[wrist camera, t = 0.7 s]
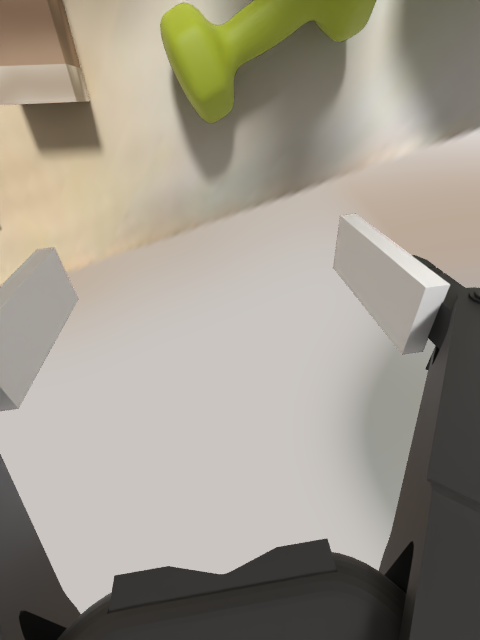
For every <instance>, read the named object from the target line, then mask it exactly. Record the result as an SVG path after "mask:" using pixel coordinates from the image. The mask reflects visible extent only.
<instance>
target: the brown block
mask: <svg viewBox="0 0 480 640" xmlns="http://www.w3.org/2000/svg"><path fill="white" fill-rule="evenodd" d="M86 101H90V100H89V96H88V92H87V88H86V85H85V81H84V77H83V73H82V70H81V68H80V64H79V61H78V57H77V53H76V50H75V46H74V42H73V38H72V35H71V31H70V27H69V23H68V20H67V16H66V12H65V9H64V5H63V1H62V0H0V105H17V104H40V103H63V102H86Z"/></svg>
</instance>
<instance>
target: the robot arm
mask: <svg viewBox="0 0 480 640" xmlns="http://www.w3.org/2000/svg"><path fill="white" fill-rule="evenodd" d="M333 268H334V269H335V271H336V272H337V273H338V275H339V276H340V277H341V278H342V280H343V281H344V282H345V283H346V284H347V285H348V287H349V288H350V289H351V291H352V292H353V293H354V295H355V296H356V297H357V298H358V300H359V301H360V302H361V303H362V305H363V306H364V307H365V308H366V310H367V311H368V312H369V313H370V315H371V316H372V317H373V319H374V320H375V321H376V322H377V323H378V325H379V326H380V327H381V328H382V330H383V331H384V332H385V334H386V335H387V336H388V337H389V339H390V340H391V341H392V342H393V344H394V345H395V346H396V347H397V349H398V350H399V351H400V353H401V354H402V355H403V354H409V353H416V352H423V350H424V348H425V345H426V343H427V340H428V338H429V339H430V340H431V341H432V342H433V343H434V344H435V345H436V346H435V349H434V351H433V353H432V355H431V358H430V360H429V362H428V364H427V367H426V369H427V370H428V375H427V378H426V383H425V387H424V392H423V396H422V400H421V405H420V409H419V414H418V418H417V423H416V427H415V431H414V436H413V440H412V444H411V448H410V453H409V457H408V462H407V466H406V470H405V475H404V479H403V483H402V488H401V492H400V497H399V501H398V506H397V510H396V514H395V518H394V523H393V527H392V532H391V535H390V538H389V541H388V544H387V546H386V549H385V552H384V555H383V558H382V561H381V565H380V568H379V571H377V570H376V569H374V568H372V567H371V566H369V565H367V564H366V563H364V562H361V561H359V560H357V559H355V558H352V557H349V556H346V555H343V554H340V553H334V552H331V549H330V546H329V543H328V540H327V539H322V540H316V541H310V542H305V543H299V544H294V545H287V546H282V547H276V548H275V549H273V550H271V551H269V552H267V553H265V554H263V555H262V556H260V557H258V558H256V559H254V560H252V561H250V562H248V563H246V564H245V565H243V566H241V567H239V568H237V569H235V570H233V571H231V572H229V573H227V574H213V573H207V572H200V571H195V570H188V569H182V568H176V567H170V566H167V567H161V568H156V569H150V570H144V571H139V572H133V573H127V574H121V575H116V576H114V582H113V588H112V593H110V594H108V595H107V596H105V597H104V598H102V599H101V600H99V601H98V602H96V603H95V604H93V605H92V606H91V607H89V608H88V609H87V610H86V611H85V612H84V613H82V614H80V613H79V611H78V610H77V608H76V607H75V606H74V604H73V603H72V602H71V601H70V600H69V598H68V597H67V596H66V594H65V593H64V591H63V590H62V587H61V585H60V583H59V581H58V579H57V577H56V574H55V572H54V570H53V568H52V566H51V564H50V561H49V559H48V557H47V555H46V553H45V551H44V548H43V546H42V544H41V542H40V540H39V537H38V535H37V533H36V531H35V529H34V526H33V524H32V523H31V520H30V518H29V516H28V514H27V511H26V509H25V507H24V505H23V503H22V500H21V498H20V496H19V494H18V492H17V490H16V487H15V485H14V483H13V481H12V479H11V476H10V474H9V472H8V470H7V468H6V465H5V463H4V461H3V459H2V457H1V455H0V640H480V288H465V287H463V286H462V285H461V284H459V283H458V282H456V281H455V280H454V279H452V278H451V277H450V276H448V275H447V274H445V273H443V272H442V271H441V270H440V269H438V268H436V267H435V266H434V265H433V264H431V263H430V262H429V261H427V260H425V259H423V258H420V257H418V256H415V255H410V254H409V253H408V252H406V251H405V250H403V249H402V248H401V247H400V246H398V245H397V244H396V243H394V242H393V241H392V240H390V239H389V238H388V237H386V236H385V235H384V234H382V233H381V232H379V231H378V230H377V229H376V228H374V227H373V226H372V225H370V224H369V223H368V222H366V221H365V220H364V219H362V218H361V217H360V216H358V215H357V214H348V215H340V220H339V228H338V235H337V243H336V250H335V259H334V266H333ZM77 301H78V297H77V294H76V293H75V290H74V288H73V286H72V284H71V282H70V280H69V277H68V275H67V273H66V271H65V269H64V267H63V265H62V262H61V260H60V258H59V256H58V254H57V252H56V250H55V248H54V247H53V248H44V249H37V250H36V251H35V252H34V253H33V254H32V255H31V256H30V257H29V258H28V259H27V260H26V261H25V262H24V263H23V264H22V265H21V266H20V267H19V268H18V269H17V270H16V271H15V272H14V273H13V274H12V275H11V276H10V277H9V278H8V279H7V280H6V281H5V282H4V283H3V284H2V285H1V286H0V411H5V410H12V409H18V408H19V407H20V405H21V403H22V401H23V399H24V397H25V396H26V394H27V392H28V390H29V388H30V387H31V385H32V383H33V381H34V379H35V377H36V376H37V374H38V372H39V370H40V368H41V366H42V365H43V363H44V361H45V359H46V357H47V356H48V354H49V352H50V350H51V348H52V346H53V344H54V343H55V341H56V339H57V337H58V335H59V333H60V332H61V330H62V328H63V326H64V325H65V323H66V321H67V319H68V317H69V315H70V314H71V312H72V310H73V308H74V306H75V304H76V302H77Z"/></svg>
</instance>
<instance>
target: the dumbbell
mask: <svg viewBox="0 0 480 640" xmlns="http://www.w3.org/2000/svg"><path fill="white" fill-rule="evenodd" d="M375 2H376V0H254V1H252V2H251V3H250V4H248V5H247V6H246V7H244V8H243V9H242V10H240V11H239V12H238V13H237V14H236V15H234V16H233V17H232V18H231V19H230V20H229V21H227V22H226V23H224V24H222V25H214V24H212V23H210V22H209V21H208V20H207V19H206V18H205V17H204V16H203V15H202V14H201V13H200V12H199V10H198V9H196V8H195V7H194V6H192V5H190V4H188V3H181V4H178V5H176V6H175V7H173V8H172V9H171V10H169V11H168V12H167V13H165V14H164V16H163V17H162V19H161V24H160V29H161V36H162V41H163V44H164V48H165V51H166V54H167V57H168V60H169V62H170V65H171V67H172V69H173V71H174V73H175V75H176V77H177V79H178V81H179V83H180V85H181V87H182V89H183V91H184V93H185V95H186V96H187V98H188V100H189V101H190V103H191V104H192V106H193V107H194V109H195V110H196V112H197V113H198V115H199V116H200V117H201V118H202V119H203V120H205V121H206V122H208V123H214V122H217V121H218V120H220V119H221V118H223V117H224V116H226V115H227V114H228V113H229V112H230V111H231V109H232V107H233V104H234V77H235V73H236V71H237V70H238V68H239V67H240V66H241V65H242V64H244V63H246V62H248V61H250V60H252V59H253V58H255V57H257V56H259V55H261V54H262V53H264V52H266V51H267V50H269V49H271V48H272V47H274V46H275V45H277V44H278V43H280V42H281V41H282V40H284V39H285V38H287V37H288V36H289V35H291V34H292V33H293V32H294V31H296V30H297V29H298V28H299V27H301V26H302V25H303V24H305V23H307V22H309V21H315V22H316V24H317V25H318V26H319V28H320V29H321V30H322V31H323V32H324V33H325V34H326V35H327V36H328V37H329V38H331V39H332V40H334V41H337V42H340V41H344V40H347V39H348V38H350V37H352V36H353V35H355V34H357V33H358V32H359V31H361V30H362V29H363V28H364V27H365V25H366V24H367V22H368V20H369V18H370V15H371V13H372V10H373V8H374V5H375Z"/></svg>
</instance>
